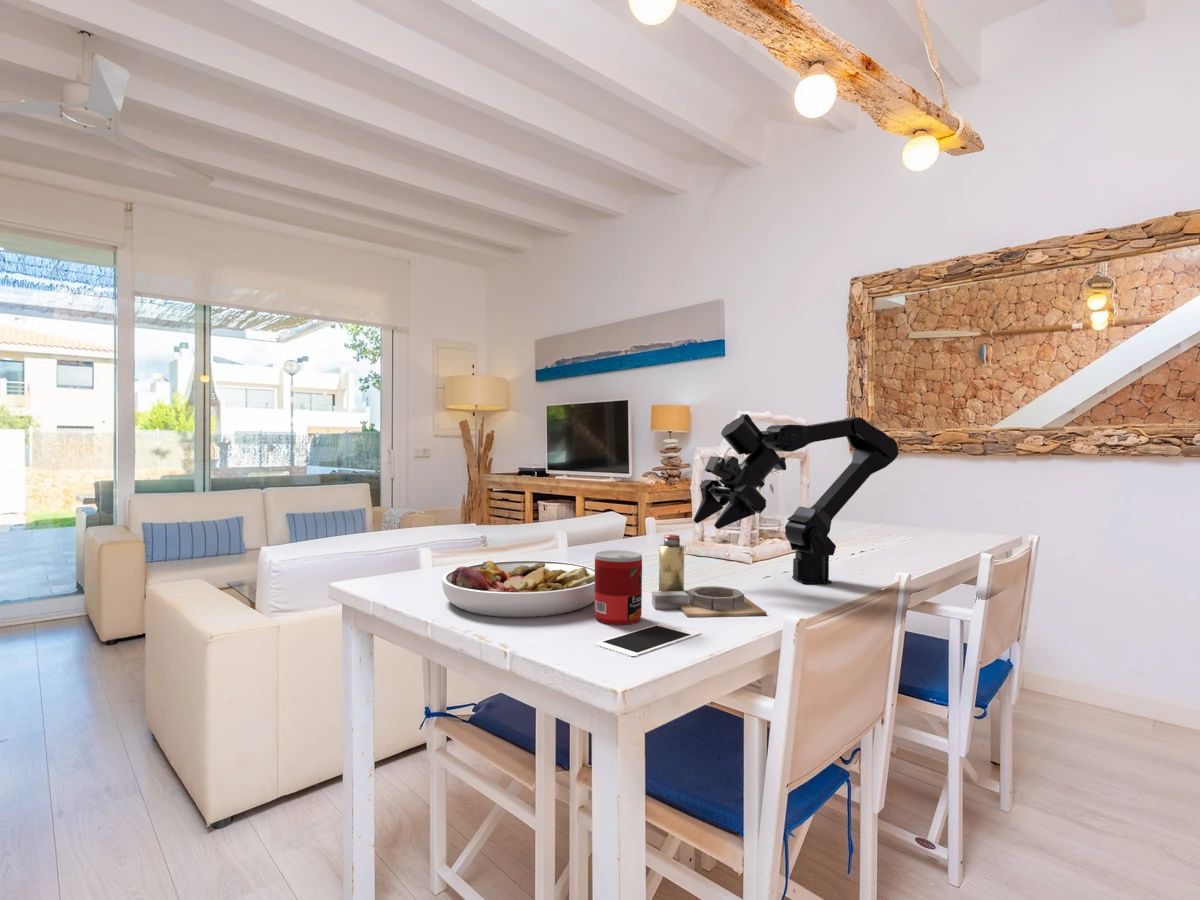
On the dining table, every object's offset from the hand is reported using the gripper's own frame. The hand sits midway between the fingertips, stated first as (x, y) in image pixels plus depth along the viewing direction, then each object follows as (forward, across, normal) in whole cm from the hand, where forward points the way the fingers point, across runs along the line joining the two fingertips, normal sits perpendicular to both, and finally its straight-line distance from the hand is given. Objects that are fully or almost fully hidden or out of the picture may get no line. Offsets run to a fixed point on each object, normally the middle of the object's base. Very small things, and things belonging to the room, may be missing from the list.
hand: (705, 524), depth 132 cm
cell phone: (+27, +28, -7) cm, 40 cm away
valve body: (+14, 0, +4) cm, 15 cm away
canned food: (+27, +17, -8) cm, 33 cm away
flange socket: (+14, +13, +4) cm, 20 cm away
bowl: (+36, -1, -16) cm, 40 cm away
